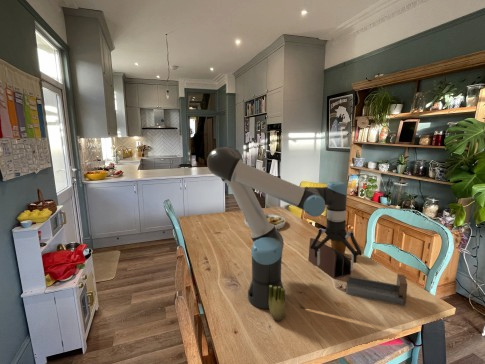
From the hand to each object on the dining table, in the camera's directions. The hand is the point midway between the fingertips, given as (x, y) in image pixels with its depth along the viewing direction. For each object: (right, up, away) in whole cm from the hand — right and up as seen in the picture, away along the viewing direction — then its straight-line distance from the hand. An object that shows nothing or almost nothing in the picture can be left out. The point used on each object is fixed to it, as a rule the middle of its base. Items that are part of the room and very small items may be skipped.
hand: (334, 266), depth 111 cm
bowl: (-23, +4, +80) cm, 84 cm away
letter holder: (+3, -7, +17) cm, 18 cm away
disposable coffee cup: (+13, -4, +31) cm, 34 cm away
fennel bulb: (-27, -13, -18) cm, 35 cm away
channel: (+14, -10, -5) cm, 18 cm away
